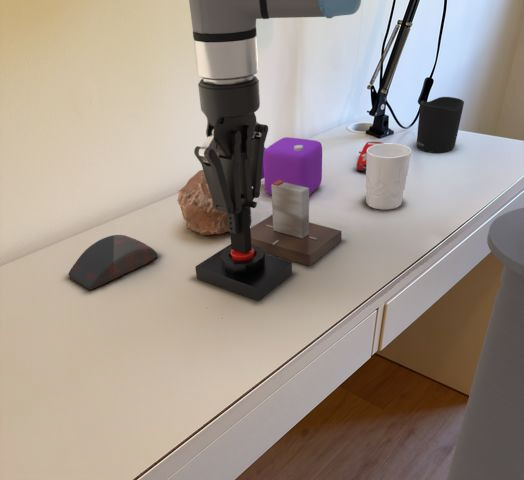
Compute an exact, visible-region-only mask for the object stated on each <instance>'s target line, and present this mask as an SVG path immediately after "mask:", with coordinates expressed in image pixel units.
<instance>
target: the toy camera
mask: <svg viewBox="0 0 524 480" xmlns="http://www.w3.org/2000/svg"><path fill="white" fill-rule="evenodd" d="M322 178H323V145H322V143H321V142H320V141H318V140H315V139H307V138H299V137H288V136H287V137H282V138H280V139H278V140H276V141H275V142H273V143H272V144H271V145H269V146H267V148H266V147H265V146H264V154H263V165H262V176H261V180H264V181H263V182H264V189H265V193H267V194H269V195H272V187H271V185H272V184H273V183H274V182H276V181H278V180H281V181H284V182H285V183H289V184H294V185H298V186H303V187H307V188H309V196H310V195H311V194H312V193H313V192H314V191H316V190H317V189H318V188H319V187H320V185H321V184H322V180H323V179H322Z"/></svg>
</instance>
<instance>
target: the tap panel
mask: <svg viewBox="0 0 524 480" xmlns="http://www.w3.org/2000/svg"><path fill="white" fill-rule="evenodd" d="M250 231H251V244H253V245H256V246H259V247H261V248H262V249H263V251H264V252H265V254H268V255H271V256H274V257H277V258H281V259H284V260H287V261H290V262H295V263H298V264H301V265H305V266H308V267H311V266H313V264H315V263H316V262H318V261H319V260H320V259H321V258H322V257H323V256H325V255H326V254H327V253H328V252H330V251H331V250H333V249H334V248H335V247H336V246H338V245H339V244H340V243H341V242H342V232H343V231H342V230H340V229H336V228H332V227H329V226H325V225H321V224H316V223H313V222H310V221H309V234H308V235H307V236H305V237H304V238H303V239H302V238H298V237H295V236H291V235H288V234H284V233H281V232H277V231H274V230H273V213H272V214H271V215H269V216H268V217H266V218H265V219H263V220H262V221H261V220H260V222H258V223H256V224H255V225H253V226H252V227H250Z"/></svg>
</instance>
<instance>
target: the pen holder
mask: <svg viewBox="0 0 524 480" xmlns="http://www.w3.org/2000/svg"><path fill="white" fill-rule="evenodd" d="M464 104H465V101H464V100H463V99H461V98H458V97H452V96H440V97H437V98H434V99H432V100H430V101H425V100H420V102H419V113H418V124H417V133H416V134H417V135H416V147H417V148H418V150H420V151H422V152H426V153H435V154H439V153H440V154H441V153H447V152H450V151H453V149H455V146H456V142H457V138H458V133H459V127H460V125H461V119H462V115H463V110H464V106H465V105H464Z"/></svg>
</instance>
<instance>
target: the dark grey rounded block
mask: <svg viewBox="0 0 524 480" xmlns="http://www.w3.org/2000/svg"><path fill="white" fill-rule="evenodd" d="M157 257H158V253H157V251H155V249H154V248H152V247H151V246H149V245H147V244H146V243H144V242H142V241H140V240H139V239H136V238H133V237H132V236H131V237H130V236H128V235H124V234H113V235H109V236H106V237H103V238H101V239H98V240H97V241H96V242H94V243H93V244H91V245H90V246H89V247H87V248H86V249H85V250H83V252H82V253H81V254H80V256H79V257H78V259H77V260H76V261H75V262H74V264H73V265H72V267H71V268H70V270H69V272H68V273H67V275H68V276H69V278H71V279H72V280H74V281H75V282H77V283H79V284H80V285H82V286H83V287H85V288H86V289H87V290H91V291H92V290H94V289H97V288H99V287H101V286H104V285H105V284H107V283H108V282H111V281H113V280H115V279H117V278H119V277H121V276H123V275H125V274H127V273H130V272H132V271H135V270H136V269H138V268H141V267H142V266H144V265H147V264H148V263H150V262H152V261H154V260H155V259H156V258H157Z"/></svg>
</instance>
